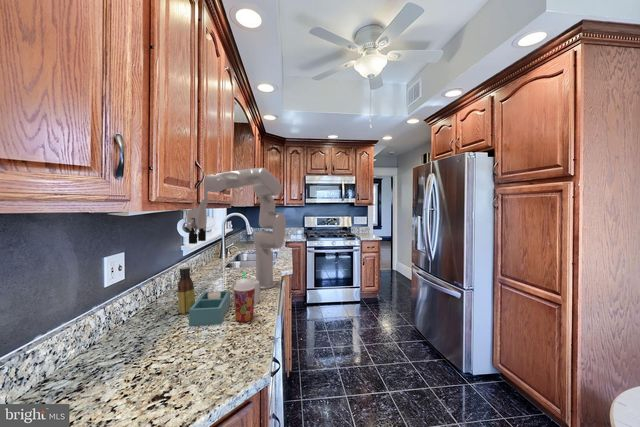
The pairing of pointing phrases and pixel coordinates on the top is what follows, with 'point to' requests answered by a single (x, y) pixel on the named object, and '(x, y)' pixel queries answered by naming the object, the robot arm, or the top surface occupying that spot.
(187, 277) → the sauce bottle
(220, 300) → the bottle crate
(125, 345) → the top surface
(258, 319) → the top surface
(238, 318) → the smoothie
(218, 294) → the cream jar
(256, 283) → the toilet tissue
